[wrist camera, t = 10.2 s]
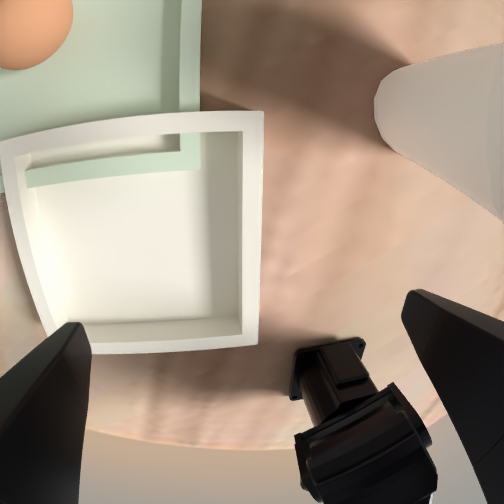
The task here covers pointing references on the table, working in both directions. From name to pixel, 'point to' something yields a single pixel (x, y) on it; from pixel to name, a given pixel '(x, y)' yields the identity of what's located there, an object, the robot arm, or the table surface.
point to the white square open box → (144, 233)
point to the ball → (32, 31)
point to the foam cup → (450, 120)
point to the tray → (111, 84)
